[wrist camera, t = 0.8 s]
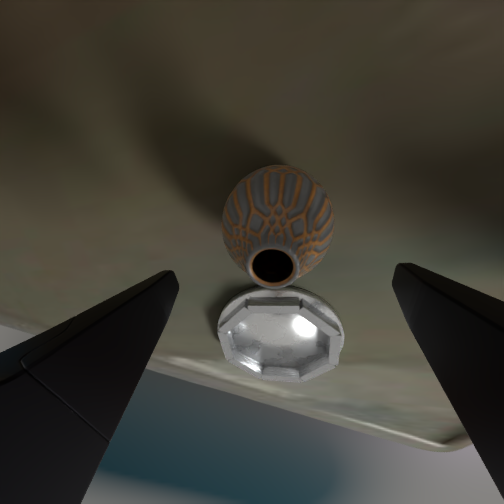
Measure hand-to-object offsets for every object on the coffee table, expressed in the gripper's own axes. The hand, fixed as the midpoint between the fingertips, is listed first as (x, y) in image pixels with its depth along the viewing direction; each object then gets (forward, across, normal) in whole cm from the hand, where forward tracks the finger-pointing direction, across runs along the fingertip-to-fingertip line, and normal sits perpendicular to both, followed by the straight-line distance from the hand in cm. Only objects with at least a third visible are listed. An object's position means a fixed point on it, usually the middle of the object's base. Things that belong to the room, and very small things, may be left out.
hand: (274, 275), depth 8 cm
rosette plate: (+9, +1, +15) cm, 18 cm away
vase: (+9, 0, 0) cm, 9 cm away
